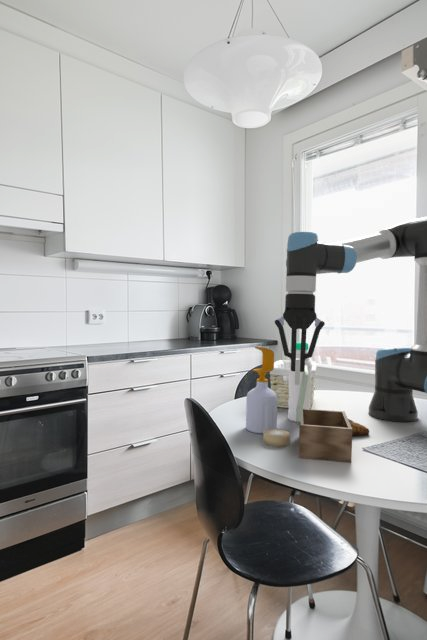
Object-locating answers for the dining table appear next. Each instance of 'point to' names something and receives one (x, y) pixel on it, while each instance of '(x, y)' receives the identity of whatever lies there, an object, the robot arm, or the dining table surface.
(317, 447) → the box
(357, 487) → the dining table surface
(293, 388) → the water bottle
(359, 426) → the croissant
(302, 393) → the lid
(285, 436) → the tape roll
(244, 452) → the dining table surface
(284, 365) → the storage basket
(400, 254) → the robot arm
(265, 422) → the soap bottle
